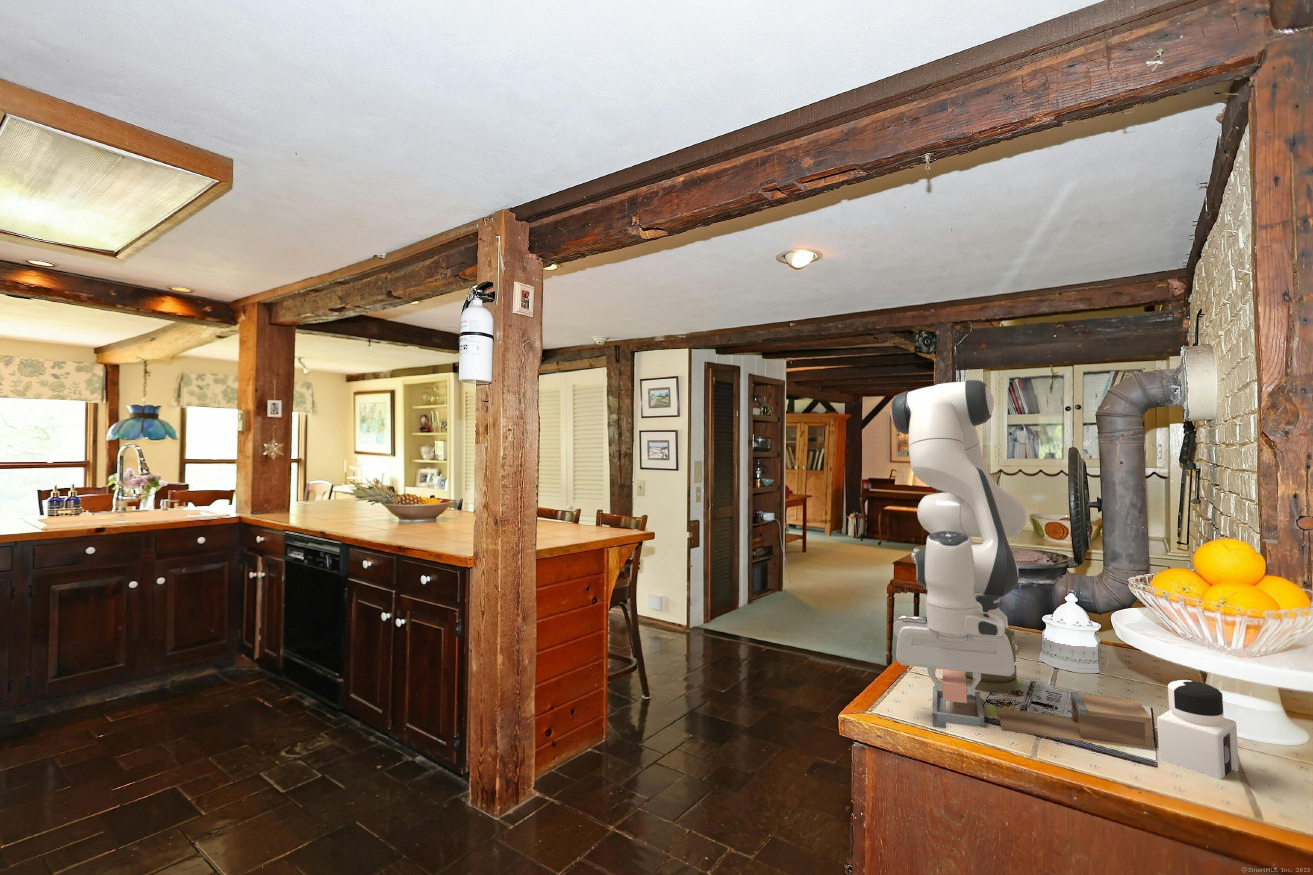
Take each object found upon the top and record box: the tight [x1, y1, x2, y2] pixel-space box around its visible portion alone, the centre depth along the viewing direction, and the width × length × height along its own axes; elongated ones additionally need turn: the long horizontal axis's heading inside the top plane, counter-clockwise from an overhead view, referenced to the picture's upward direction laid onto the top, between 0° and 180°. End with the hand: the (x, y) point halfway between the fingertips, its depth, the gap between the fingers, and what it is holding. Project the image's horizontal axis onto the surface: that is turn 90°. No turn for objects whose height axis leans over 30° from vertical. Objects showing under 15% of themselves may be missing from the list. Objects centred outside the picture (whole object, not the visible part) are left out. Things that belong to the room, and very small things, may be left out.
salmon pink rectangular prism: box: [942, 669, 968, 704], centre depth 121 cm, size 4×10×3 cm, turn 155°
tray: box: [931, 686, 986, 729], centre depth 121 cm, size 14×9×2 cm, turn 156°
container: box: [1156, 679, 1240, 780], centre depth 99 cm, size 8×8×13 cm
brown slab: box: [996, 691, 1156, 751], centre depth 112 cm, size 10×22×6 cm, turn 66°
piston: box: [965, 627, 1018, 694], centre depth 134 cm, size 11×12×11 cm
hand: (954, 692), depth 119 cm, fingers closed on salmon pink rectangular prism, 4 cm apart
